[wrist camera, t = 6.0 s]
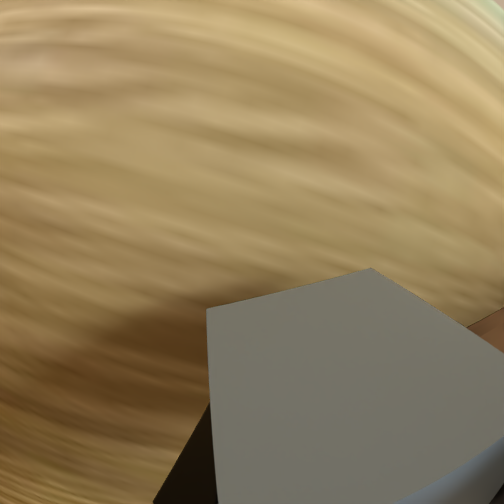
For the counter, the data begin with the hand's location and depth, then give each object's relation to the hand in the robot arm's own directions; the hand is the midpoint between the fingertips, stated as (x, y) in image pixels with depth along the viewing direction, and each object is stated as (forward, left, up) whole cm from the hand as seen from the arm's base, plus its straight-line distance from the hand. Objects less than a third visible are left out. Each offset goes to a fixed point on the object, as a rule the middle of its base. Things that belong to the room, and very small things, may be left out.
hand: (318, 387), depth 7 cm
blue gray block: (0, 0, -1) cm, 1 cm away
